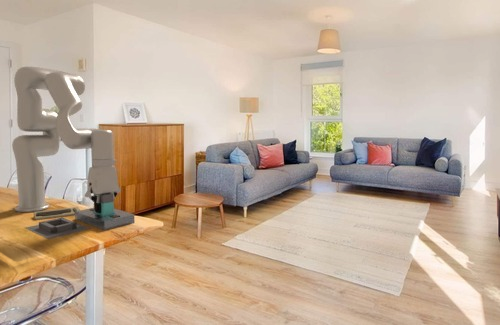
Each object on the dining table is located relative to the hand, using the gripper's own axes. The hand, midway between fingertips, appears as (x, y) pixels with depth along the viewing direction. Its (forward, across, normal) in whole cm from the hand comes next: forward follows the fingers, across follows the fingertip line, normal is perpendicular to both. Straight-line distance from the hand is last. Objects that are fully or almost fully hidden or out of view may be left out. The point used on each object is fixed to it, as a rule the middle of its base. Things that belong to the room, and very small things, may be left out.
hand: (104, 210), depth 127 cm
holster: (+5, +15, -4) cm, 16 cm away
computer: (+5, +7, -21) cm, 23 cm away
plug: (+3, 0, 0) cm, 3 cm away
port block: (+5, 0, 0) cm, 5 cm away
